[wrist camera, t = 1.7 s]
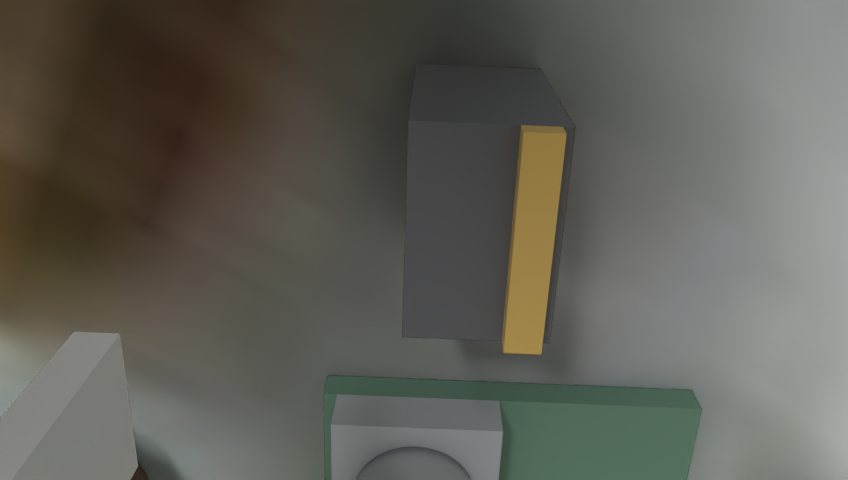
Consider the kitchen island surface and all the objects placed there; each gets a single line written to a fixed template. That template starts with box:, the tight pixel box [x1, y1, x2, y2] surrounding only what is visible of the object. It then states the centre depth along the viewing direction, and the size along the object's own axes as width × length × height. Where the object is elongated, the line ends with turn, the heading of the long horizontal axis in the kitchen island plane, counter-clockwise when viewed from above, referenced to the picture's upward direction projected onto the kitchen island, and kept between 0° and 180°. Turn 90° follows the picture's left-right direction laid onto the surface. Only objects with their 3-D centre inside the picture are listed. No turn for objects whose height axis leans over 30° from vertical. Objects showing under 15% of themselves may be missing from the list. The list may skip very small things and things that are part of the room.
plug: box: [402, 64, 575, 355], centre depth 23 cm, size 6×4×8 cm, turn 178°
